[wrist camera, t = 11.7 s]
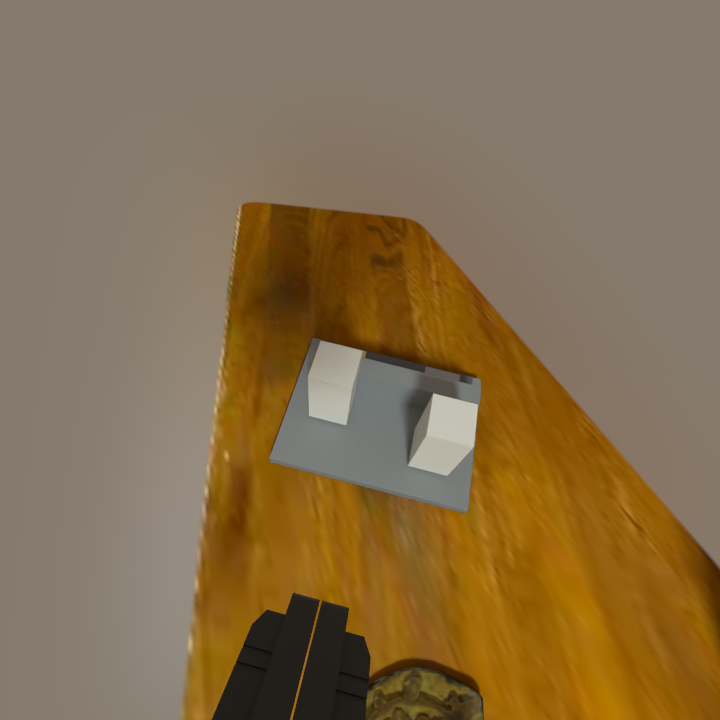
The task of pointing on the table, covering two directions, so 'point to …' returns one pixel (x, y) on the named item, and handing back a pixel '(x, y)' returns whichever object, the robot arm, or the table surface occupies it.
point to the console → (377, 431)
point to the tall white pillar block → (333, 382)
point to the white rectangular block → (443, 434)
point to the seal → (422, 697)
